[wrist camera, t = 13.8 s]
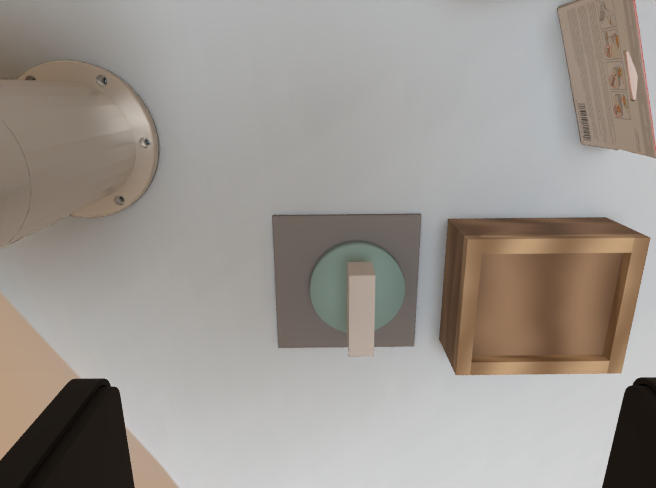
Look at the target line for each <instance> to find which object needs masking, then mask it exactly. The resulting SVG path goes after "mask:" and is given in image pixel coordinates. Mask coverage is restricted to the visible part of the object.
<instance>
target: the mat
mask: <svg viewBox="0 0 656 488" xmlns="http://www.w3.org/2000/svg"><path fill="white" fill-rule="evenodd" d="M272 219H273V241H274V262H275V284H276V306H277V327H278V348H303V347H348V340H347V333H346V332H342V331H339V330H337V329H334V328H333V327H331V326H329V325H328V324H327V323H325V322H324V321H323V320H322V319H321V318H320V317H319V315H318V314H317V313H316V311H315V309H314V307H313V304H312V301H311V296H310V284H311V276H312V272H313V269H314V267H315V265H316V263H317V261H318V260H319V258H320V257H321V256H322V255H323V254H324V253H325V252H326V251H328V250H329V249H331V248H332V247H334V246H336V245H338V244H341V243H344V242H348V241H367V242H371V243H374V244H377V245H379V246H381V247H382V248H384V249H385V250H387V251H388V252H389V253H390V254H391V255H392V256H393V257H394V259H395V260H396V262H397V263H398V265H399V267H400V270H401V272H402V275H403V278H404V283H405V296H404V300H403V303H402V305H401V308H400V309H399V311H398V313H397V314H396V315H395V317H394V318H393V319H392V320H391V321H389V322H388V323H387V324H386V325H384V326H382V327H381V328H379V329H376V330H374V347H396V346H414V337H415V319H416V301H417V283H418V264H419V246H420V228H421V214H349V215H273V216H272Z"/></svg>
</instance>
